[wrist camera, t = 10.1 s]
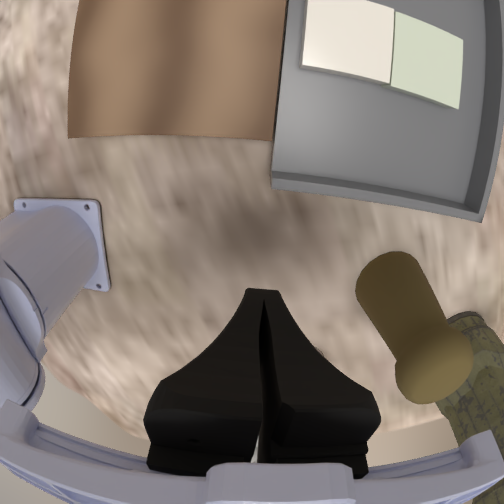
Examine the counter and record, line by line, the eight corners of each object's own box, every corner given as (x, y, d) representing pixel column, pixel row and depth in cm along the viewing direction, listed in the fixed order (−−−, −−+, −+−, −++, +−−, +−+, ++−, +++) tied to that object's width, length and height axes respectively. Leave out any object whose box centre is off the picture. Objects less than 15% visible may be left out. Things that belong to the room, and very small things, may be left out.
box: (269, 174, 19) (271, 188, 16) (293, -71, 11) (298, -95, 8) (457, 205, 20) (481, 223, 16) (477, -7, 11) (502, -15, 8)
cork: (367, 246, 22) (429, 351, 12) (430, 255, 22) (503, 345, 12) (346, 311, 24) (381, 422, 15) (406, 314, 24) (454, 411, 15)
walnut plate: (86, 133, 18) (67, 138, 16) (106, -36, 12) (91, -47, 9) (270, 137, 18) (271, 141, 16) (289, -49, 12) (292, -65, 10)
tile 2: (298, 68, 15) (302, 64, 14) (305, -4, 13) (309, -13, 11) (379, 84, 15) (389, 83, 14) (384, 14, 13) (394, 8, 11)
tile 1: (381, 86, 15) (390, 85, 14) (386, 16, 13) (395, 11, 11) (446, 107, 15) (458, 109, 14) (451, 42, 13) (463, 39, 11)
